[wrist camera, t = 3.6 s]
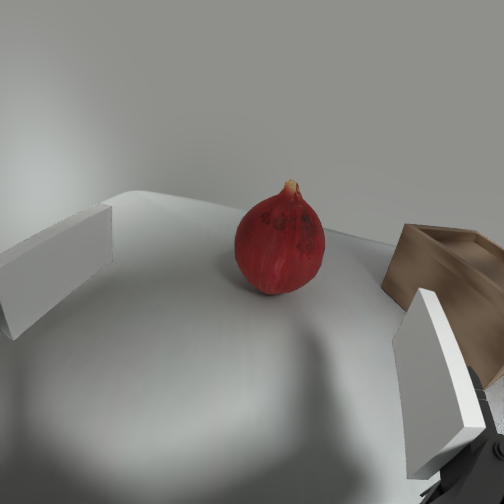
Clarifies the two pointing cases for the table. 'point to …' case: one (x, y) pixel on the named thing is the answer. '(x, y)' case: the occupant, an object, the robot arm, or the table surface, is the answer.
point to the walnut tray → (456, 288)
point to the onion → (280, 242)
